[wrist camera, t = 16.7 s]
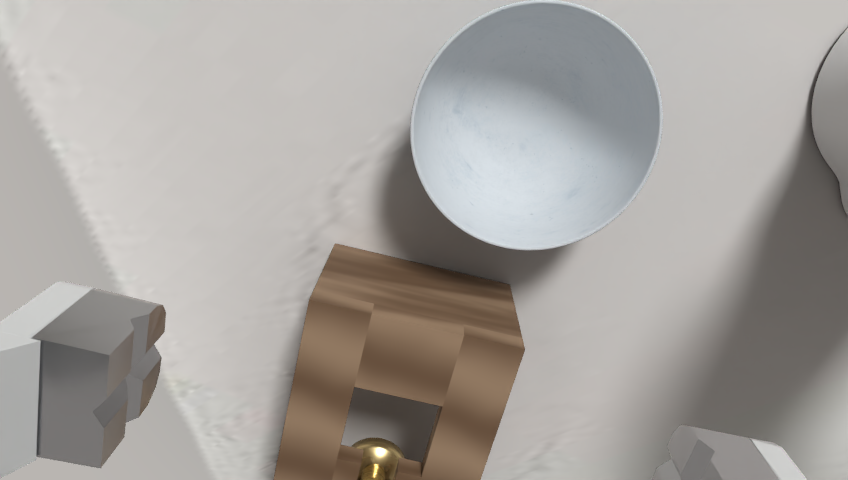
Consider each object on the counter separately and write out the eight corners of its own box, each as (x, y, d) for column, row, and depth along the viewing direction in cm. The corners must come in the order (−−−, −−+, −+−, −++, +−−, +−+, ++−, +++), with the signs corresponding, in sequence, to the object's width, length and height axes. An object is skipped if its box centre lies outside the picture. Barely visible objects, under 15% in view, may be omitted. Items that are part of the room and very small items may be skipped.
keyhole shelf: (335, 243, 49) (309, 299, 39) (509, 284, 50) (524, 349, 40) (285, 484, 57) (254, 578, 48) (435, 516, 58) (433, 615, 48)
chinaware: (475, -40, 42) (481, -50, 34) (669, 62, 43) (714, 74, 36) (381, 160, 46) (370, 189, 39) (559, 245, 48) (580, 287, 41)
